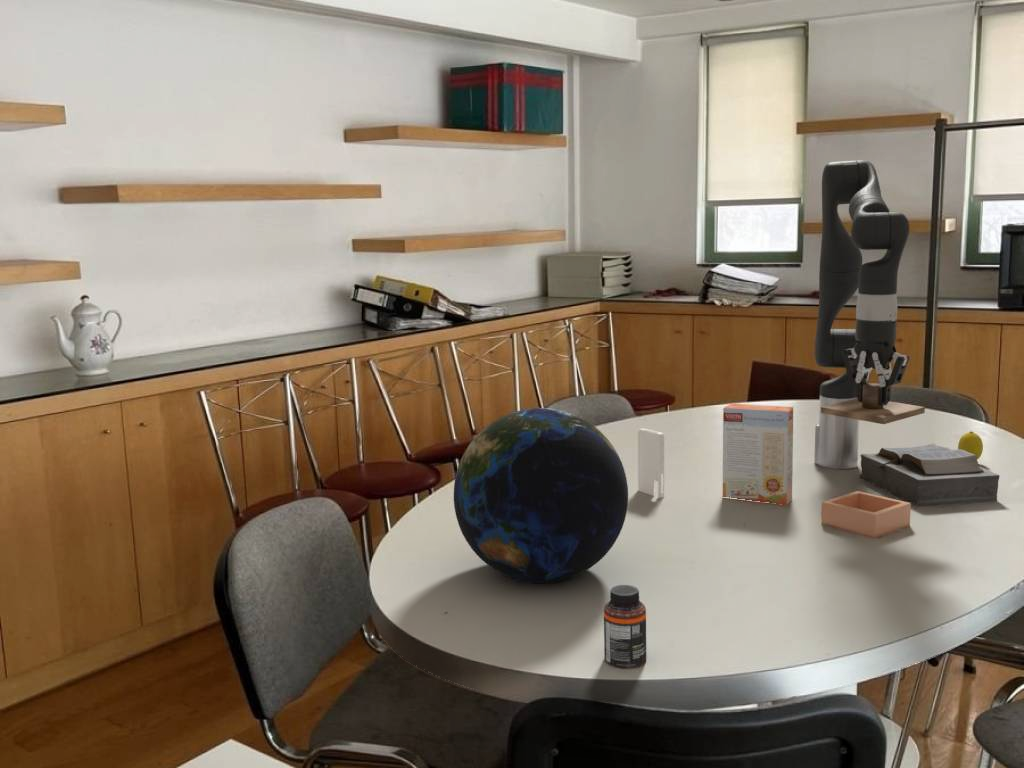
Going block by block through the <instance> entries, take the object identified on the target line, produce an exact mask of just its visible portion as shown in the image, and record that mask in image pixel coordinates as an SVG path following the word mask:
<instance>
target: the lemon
mask: <svg viewBox="0 0 1024 768" xmlns="http://www.w3.org/2000/svg"><path fill="white" fill-rule="evenodd" d="M957 449H960V450H964V451H966V452H969V453H971V454H975V455H976V458H977V460H979V459H980V458H981V456H982V455H983V451H984V444H983V441H982V438H981V437H980V436H979V434H977V433H975V432H974V431H973V430H971V431H969V432H966V433H964V434H963V435H962V436H961V437H960V438H959V439H958V444H957Z"/></svg>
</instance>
